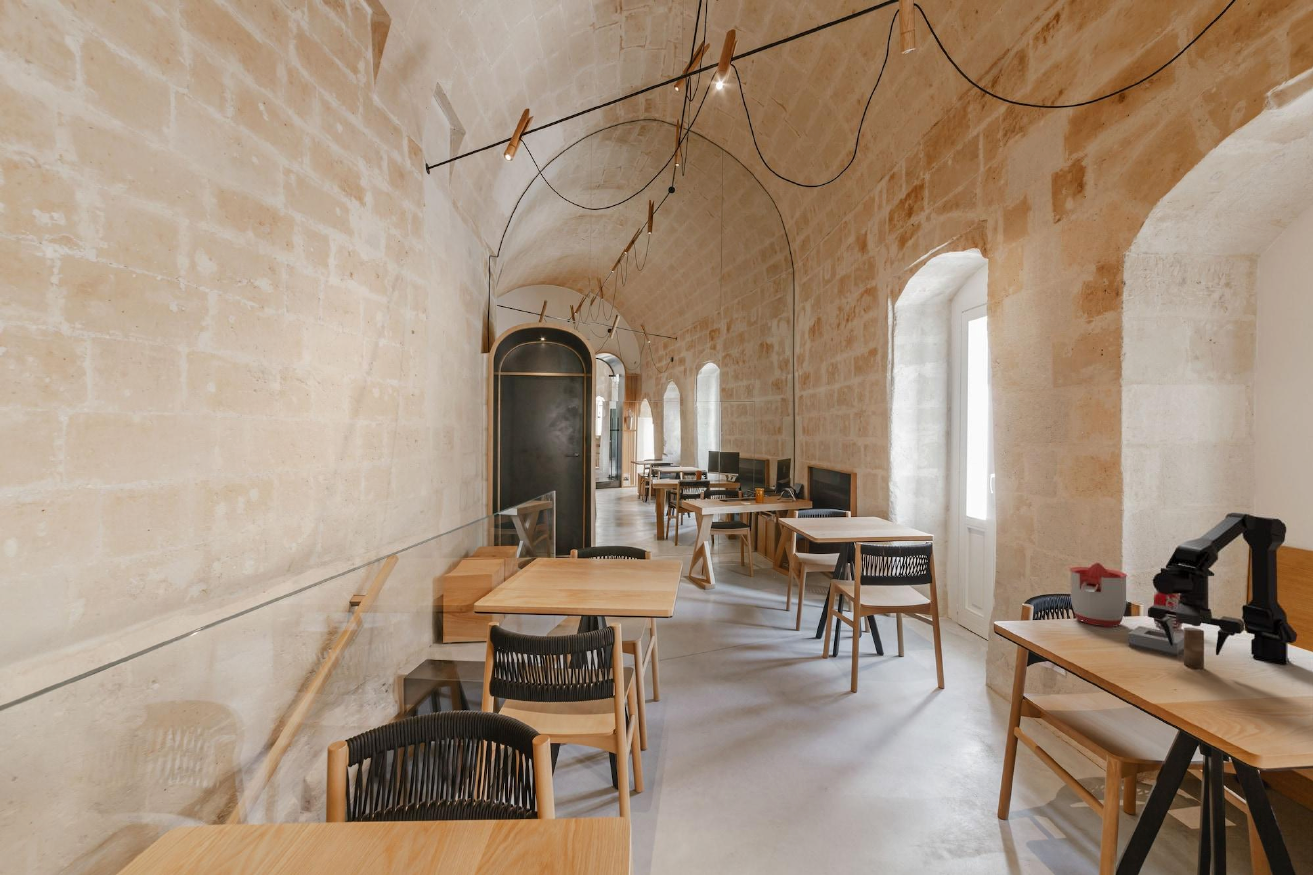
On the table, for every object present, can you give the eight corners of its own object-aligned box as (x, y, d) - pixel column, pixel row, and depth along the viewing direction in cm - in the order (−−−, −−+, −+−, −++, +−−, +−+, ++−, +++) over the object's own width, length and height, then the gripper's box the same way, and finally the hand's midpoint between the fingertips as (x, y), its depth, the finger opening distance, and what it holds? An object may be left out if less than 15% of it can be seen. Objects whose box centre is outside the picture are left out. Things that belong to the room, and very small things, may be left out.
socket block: (1186, 648, 174) (1186, 635, 174) (1177, 657, 167) (1177, 643, 167) (1139, 638, 183) (1139, 625, 183) (1128, 646, 176) (1128, 632, 176)
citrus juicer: (1060, 621, 200) (1060, 562, 200) (1078, 612, 210) (1078, 556, 211) (1117, 633, 188) (1116, 570, 188) (1133, 623, 198) (1133, 563, 198)
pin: (1205, 667, 160) (1205, 630, 160) (1202, 670, 157) (1202, 633, 157) (1185, 662, 163) (1185, 626, 163) (1182, 666, 160) (1182, 629, 161)
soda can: (1160, 629, 191) (1160, 592, 192) (1149, 623, 198) (1149, 587, 198) (1186, 631, 189) (1186, 594, 189) (1174, 625, 196) (1174, 589, 196)
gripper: (1142, 590, 163) (1142, 646, 163) (1236, 605, 148) (1236, 667, 148) (1153, 584, 170) (1153, 638, 169) (1244, 597, 155) (1244, 657, 155)
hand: (1194, 650), depth 160 cm, fingers open, 9 cm apart
